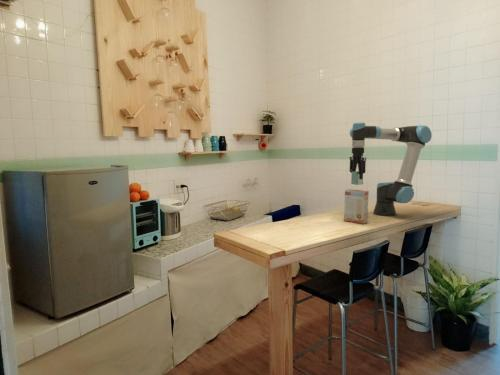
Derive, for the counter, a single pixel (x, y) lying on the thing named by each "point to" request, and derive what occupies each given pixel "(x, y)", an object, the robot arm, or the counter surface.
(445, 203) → the counter surface
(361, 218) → the cracker box
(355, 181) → the teal block
